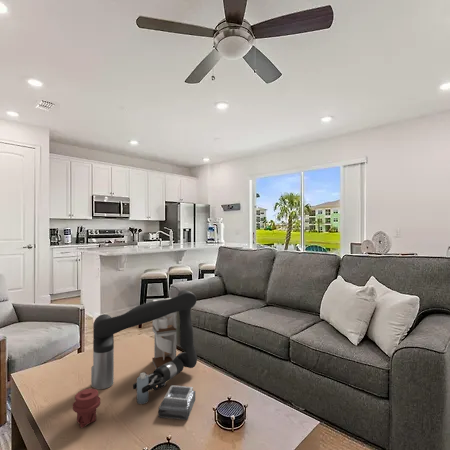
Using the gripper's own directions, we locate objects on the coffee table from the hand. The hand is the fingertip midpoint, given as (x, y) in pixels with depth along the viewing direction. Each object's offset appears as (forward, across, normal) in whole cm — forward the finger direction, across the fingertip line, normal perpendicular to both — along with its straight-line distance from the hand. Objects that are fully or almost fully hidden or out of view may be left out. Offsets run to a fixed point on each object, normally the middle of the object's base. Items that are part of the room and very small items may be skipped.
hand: (138, 388), depth 133 cm
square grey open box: (-7, +17, +6) cm, 19 cm away
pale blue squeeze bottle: (-3, 0, +6) cm, 7 cm away
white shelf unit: (-34, -17, +7) cm, 38 cm away
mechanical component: (+20, -7, +7) cm, 22 cm away
